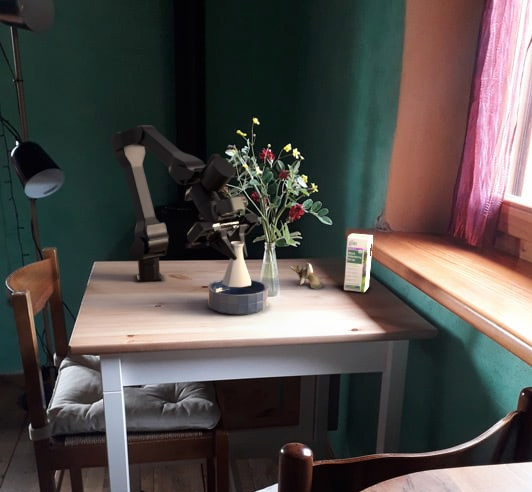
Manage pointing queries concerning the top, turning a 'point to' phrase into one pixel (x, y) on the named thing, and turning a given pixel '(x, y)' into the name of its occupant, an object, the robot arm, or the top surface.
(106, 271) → the top surface
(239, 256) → the flask
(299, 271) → the animal figurine
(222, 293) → the blue faceted bowl
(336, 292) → the top surface
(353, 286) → the syrup box
